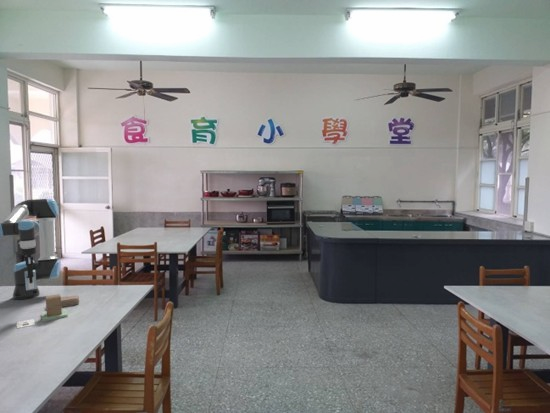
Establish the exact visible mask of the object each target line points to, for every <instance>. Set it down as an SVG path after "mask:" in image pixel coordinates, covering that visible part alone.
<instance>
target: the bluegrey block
mask: <svg viewBox="0 0 550 413" xmlns="http://www.w3.org/2000/svg"><path fill="white" fill-rule="evenodd" d="M24 272H25V284H26V290H32V289H37V287H38V285H37V280H36V272H35V270H33V278H34V288H32V289H29V287H28V278H27V277H28V271H24Z"/></svg>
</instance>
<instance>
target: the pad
mask: <svg viewBox="0 0 550 413" xmlns="http://www.w3.org/2000/svg"><path fill="white" fill-rule="evenodd" d="M40 314H41V319H42V322H47V321H51V320H57V319H62V318H66V317H67V318H68V313H67V310H66V308H62V314H60V315H55V316H50V317H48V316H47V311H44V312H41V313H40Z"/></svg>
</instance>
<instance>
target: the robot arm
mask: <svg viewBox="0 0 550 413" xmlns="http://www.w3.org/2000/svg"><path fill="white" fill-rule="evenodd" d="M59 213H60V212H59V207H58V203H57V201H56V200H55V199H53V198H39V199H38V198H37V199H34V198H33V199H26V200H23V201H21V202H18V203H17V204H16V205H15V206H13V207H12V210H11V212H10V213H9V214H8V216H7V217H6V218H5V220H4V221H3V222H0V237H10V236H18V238H19V242H18V245H19V248H20V249H19V250H20V255H21V256H25V257H24V261H21V262H18V263H16V264H14V266H13V275H14V276H13V277H14V289H13V293H12V299H13V300H16V301H17V300H19V301H21V300H28V299H29V300H30V299H32V298H36V297H38V296H40V293H41V292H40V289H39V287H38V286H37V289H32V288H34V278H33V270H35V272H36V281H38V280H40V281H41V280H49V279H51V280H52V279H56V278H58V277H59V276H60V273H61V266H62V264H61V261H60V260H58V257H57V256H56V250H55V248H56V247H55V224H54V221H55V220H56V219H57V216H59ZM30 217H32V218H34V217H35V218H36V220H32V219H26V218H30ZM24 219H25V220H24ZM37 221H38V222H37ZM37 233H39V255H40V256H39V258H38V259H37V261H36V262H35V260H34V257H33V255H35V254H37V247H36V243H37V242H36V234H37ZM24 271H28V277H27V278H28V287H29V289H32V290H26V284H25V272H24Z"/></svg>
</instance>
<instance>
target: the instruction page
mask: <svg viewBox="0 0 550 413" xmlns="http://www.w3.org/2000/svg"><path fill="white" fill-rule="evenodd" d="M30 326H35V319H33V318H32V319H27V320H22V321H17V322H16V329H21V328H25V327H30Z"/></svg>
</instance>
